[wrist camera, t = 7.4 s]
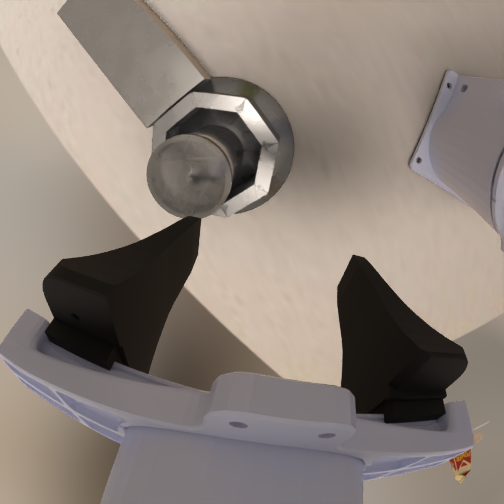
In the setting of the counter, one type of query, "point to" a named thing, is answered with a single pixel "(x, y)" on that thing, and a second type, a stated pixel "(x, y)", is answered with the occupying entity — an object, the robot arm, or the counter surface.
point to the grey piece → (184, 93)
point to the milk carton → (461, 465)
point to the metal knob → (195, 171)
